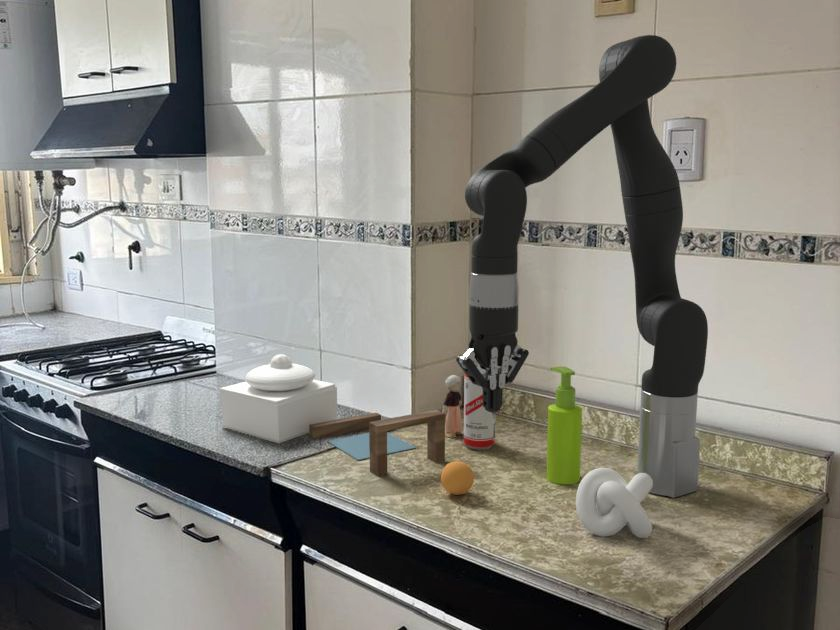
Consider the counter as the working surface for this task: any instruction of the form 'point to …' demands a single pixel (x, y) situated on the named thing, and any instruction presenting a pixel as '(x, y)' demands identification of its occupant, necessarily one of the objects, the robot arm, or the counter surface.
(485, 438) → the beer can
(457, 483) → the ball
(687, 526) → the counter surface
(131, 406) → the counter surface
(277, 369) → the white lidded dish
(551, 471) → the soap dispenser
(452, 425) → the grandmother figurine
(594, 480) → the white knot
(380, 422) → the bridge
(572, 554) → the counter surface
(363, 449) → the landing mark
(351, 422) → the wall
